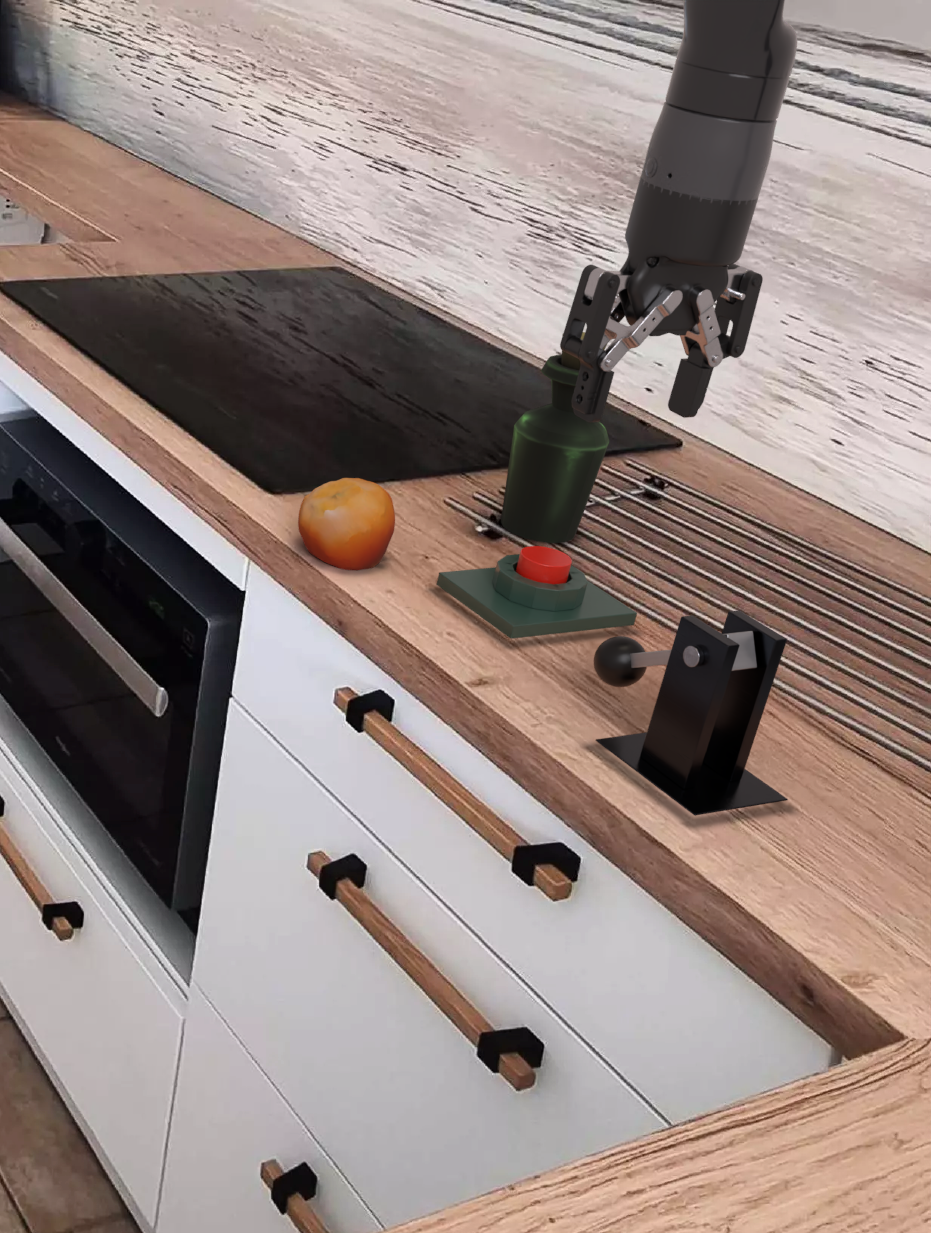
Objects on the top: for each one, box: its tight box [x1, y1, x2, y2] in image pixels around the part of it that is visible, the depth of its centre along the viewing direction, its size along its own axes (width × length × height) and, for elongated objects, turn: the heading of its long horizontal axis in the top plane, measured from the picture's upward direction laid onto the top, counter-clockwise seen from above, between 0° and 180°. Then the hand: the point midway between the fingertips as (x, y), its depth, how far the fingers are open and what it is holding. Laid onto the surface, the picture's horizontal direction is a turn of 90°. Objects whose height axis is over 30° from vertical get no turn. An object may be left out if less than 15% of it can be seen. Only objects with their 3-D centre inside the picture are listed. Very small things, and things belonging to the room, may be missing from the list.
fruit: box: [297, 477, 396, 571], centre depth 148 cm, size 8×8×8 cm
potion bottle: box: [500, 331, 610, 544], centre depth 155 cm, size 8×8×18 cm
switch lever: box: [593, 631, 757, 688], centre depth 121 cm, size 13×4×4 cm, turn 22°
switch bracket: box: [595, 609, 789, 816], centre depth 118 cm, size 10×8×12 cm
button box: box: [436, 553, 638, 640], centre depth 142 cm, size 12×10×4 cm
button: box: [516, 545, 573, 584], centre depth 141 cm, size 4×4×2 cm
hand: (634, 416), depth 124 cm, fingers open, 8 cm apart
